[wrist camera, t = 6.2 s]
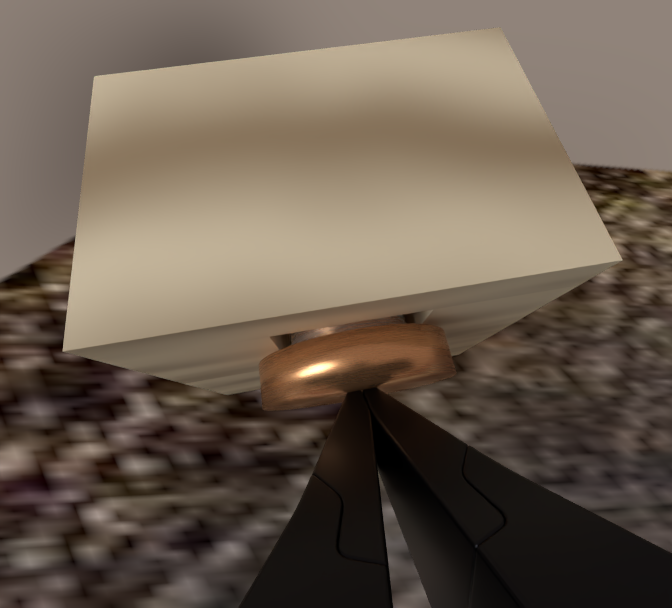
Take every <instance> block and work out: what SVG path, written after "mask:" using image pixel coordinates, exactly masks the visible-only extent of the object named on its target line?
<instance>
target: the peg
mask: <svg viewBox="0 0 672 608" xmlns="http://www.w3.org/2000/svg"><path fill="white" fill-rule="evenodd" d="M290 341H291V345H290V346H287V347H285V348H282V349H280V350H278V351H275V352H273V353H271V354H269V355H268V356H266V357H265V358H263V359H262V360H261V361H260V363H259V374H260V385H261V396H262V407H263V410H267V411H276V410H289V409H299V408H307V407H314V406H321V405H328V404H334V403H340V402H343V401H344V399H345V396H346V394H347V393H348V392H353V391H358V390H361V391H363V390H364V389H370V388H378V389H380V390H381V391H383V392H385V393H386V394H388V393H393V392H398V391H402V390H407V389H411V388H415V387H420V386H424V385H427V384H431V383H435V382H438V381H442V380H445V379H448V378H450V377H453V376H455V375H456V374H457V373H456V369H455V366H454V363H453V359H452V356H451V352H450V349H449V345H448V342H447V339H446V335H445V332H444V330H443V329H442V328H441V327H438V326H435V325H429V324H414V323H413V324H406V322H405V318H404V314H403V315H397V316H391V317H385V318H379V319H373V320H367V321H361V322H355V323H349V324H343V325H337V326H331V327H325V328H319V329H313V330H307V331H301V332H295V333H290Z"/></svg>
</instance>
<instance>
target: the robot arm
mask: <svg viewBox="0 0 672 608" xmlns="http://www.w3.org/2000/svg"><path fill="white" fill-rule="evenodd" d="M378 471H379V474H380V476H381V479H382V481H383V484H384V487H385V489H386V492H387V494H388V497H389V499H390V502H391V505H392V507H393V510H394V512H395V515H396V517H397V520H398V523H399V525H400V528H401V530H402V533H403V535H404V538H405V541H406V543H407V546H408V548H409V551H410V553H411V556H412V559H413V561H414V564H415V566H416V569H417V572H418V574H419V577H420V579H421V582H422V584H423V587H424V590H425V592H426V595H427V597H428V600H429V602H430V605H431V608H672V553H670V552H668V551H666V550H664V549H662V548H660V547H658V546H656V545H654V544H652V543H651V542H649V541H647V540H645V539H643V538H641V537H639V536H637V535H635V534H633V533H631V532H629V531H627V530H625V529H623V528H621V527H619V526H617V525H616V524H614V523H612V522H610V521H608V520H606V519H604V518H602V517H600V516H598V515H596V514H594V513H592V512H590V511H588V510H586V509H584V508H583V507H581V506H579V505H577V504H575V503H573V502H571V501H569V500H567V499H565V498H563V497H561V496H559V495H557V494H555V493H553V492H551V491H550V490H548V489H546V488H544V487H542V486H540V485H538V484H536V483H534V482H532V481H530V480H528V479H526V478H525V477H523V476H521V475H519V474H517V473H515V472H513V471H512V470H510V469H508V468H506V467H504V466H503V465H501V464H499V463H498V462H496V461H494V460H493V459H491V458H489V457H487V456H486V455H484V454H482V453H481V452H479V451H478V450H476V449H475V448H473V447H471V446H468V445H467V444H466V443H464V442H462V441H461V440H459V439H458V438H456V437H455V436H453V435H451V434H450V433H448V432H447V431H445V430H443V429H442V428H440V427H439V426H437V425H435V424H434V423H432V422H431V421H429V420H428V419H426V418H424V417H423V416H421V415H420V414H418V413H416V412H415V411H413V410H412V409H410V408H408V407H407V406H405V405H404V404H402V403H401V402H399V401H397V400H396V399H394V398H393V397H391V396H389V395H388V394H386V393H385V392H383V391H381V390H380V389H378V388H370V389H364V390H363V391H361V390H358V391H353V392H348V393H347V394H346V396H345V399H344V401H343V403H342V406H341V408H340V410H339V413H338V415H337V417H336V420H335V422H334V424H333V427H332V429H331V431H330V434H329V436H328V438H327V441H326V443H325V445H324V448H323V450H322V453H321V455H320V457H319V460H318V462H317V464H316V467H315V469H314V471H313V474H312V476H311V477H310V480H309V482H308V484H307V487H306V489H305V491H304V493H303V495H302V498H301V500H300V502H299V504H298V506H297V508H296V510H295V512H294V514H293V515H292V517H291V519H290V521H289V523H288V524H287V526H286V528H285V530H284V532H283V533H282V535H281V537H280V538H279V540H278V542H277V543H276V545H275V547H274V549H273V550H272V552H271V554H270V555H269V557H268V559H267V560H266V562H265V564H264V565H263V567H262V569H261V571H260V572H259V574H258V576H257V577H256V579H255V581H254V582H253V584H252V586H251V587H250V589H249V591H248V593H247V594H246V596H245V598H244V599H243V601H242V603H241V604H240V606H239V608H393V602H392V593H391V584H390V575H389V566H388V557H387V548H386V539H385V531H384V522H383V513H382V504H381V495H380V486H379V477H378Z"/></svg>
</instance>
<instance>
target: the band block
mask: <svg viewBox="0 0 672 608" xmlns="http://www.w3.org/2000/svg"><path fill="white" fill-rule="evenodd" d="M620 261H622V258H621V256H620V254H619V252H618V250H617V248H616V246H615V245H614V243H613V241H612V239H611V237H610V235H609V233H608V231H607V229H606V227H605V225H604V224H603V222H602V220H601V218H600V216H599V214H598V212H597V210H596V208H595V206H594V205H593V203H592V201H591V199H590V197H589V195H588V193H587V191H586V189H585V187H584V186H583V184H582V182H581V180H580V178H579V176H578V174H577V172H576V170H575V168H574V166H573V165H572V163H571V161H570V159H569V157H568V155H567V153H566V151H565V149H564V148H563V146H562V144H561V142H560V140H559V138H558V136H557V134H556V132H555V130H554V128H553V127H552V125H551V123H550V121H549V119H548V117H547V115H546V113H545V111H544V109H543V107H542V106H541V104H540V102H539V100H538V98H537V96H536V94H535V92H534V90H533V88H532V87H531V85H530V83H529V81H528V79H527V77H526V75H525V73H524V71H523V70H522V67H521V66H520V64H519V62H518V60H517V58H516V56H515V54H514V52H513V50H512V49H511V47H510V45H509V43H508V41H507V39H506V37H505V35H504V33H503V31H502V29H501V28H500V27H499V28H491V29H484V30H475V31H467V32H458V33H450V34H441V35H434V36H425V37H416V38H408V39H400V40H392V41H384V42H375V43H367V44H359V45H351V46H342V47H333V48H326V49H317V50H309V51H300V52H292V53H284V54H276V55H267V56H259V57H251V58H243V59H234V60H226V61H218V62H209V63H201V64H192V65H185V66H176V67H168V68H159V69H151V70H143V71H134V72H127V73H118V74H110V75H101V76H95V77H94V83H93V91H92V100H91V109H90V118H89V127H88V135H87V144H86V153H85V161H84V170H83V178H82V187H81V196H80V205H79V214H78V222H77V231H76V239H75V248H74V257H73V265H72V274H71V283H70V291H69V300H68V309H67V318H66V326H65V335H64V344H63V352H67V353H71V354H74V355H78V356H82V357H86V358H89V359H93V360H97V361H101V362H105V363H108V364H112V365H116V366H120V367H123V368H127V369H131V370H135V371H138V372H142V373H146V374H150V375H154V376H157V377H161V378H165V379H169V380H172V381H176V382H180V383H184V384H187V385H191V386H195V387H199V388H203V389H206V390H210V391H214V392H218V393H221V394H225V395H230V394H236V393H241V392H247V391H253V390H259V389H261V385H260V374H259V363H260V361H261V360H262V359H263V358H265V357H266V356H268V355H269V354H271V353H273V352H275V351H278V350H280V349H282V348H285V347H287V346H290V345H291V341H290V333H295V332H301V331H307V330H313V329H319V328H325V327H331V326H337V325H343V324H349V323H355V322H361V321H367V320H373V319H379V318H385V317H391V316H397V315H403V314H404V318H405V322H406V324H413V323H414V324H429V325H435V326H438V327H441V328H442V329H443V330H444V332H445V335H446V339H447V342H448V345H449V349H450V352H451V356H454V355H459V354H461V353H463V352H464V351H466V350H468V349H469V348H471V347H473V346H475V345H476V344H478V343H480V342H482V341H483V340H485V339H487V338H489V337H490V336H492V335H494V334H495V333H497V332H499V331H501V330H502V329H504V328H506V327H508V326H509V325H511V324H513V323H515V322H516V321H518V320H520V319H522V318H523V317H525V316H527V315H528V314H530V313H532V312H534V311H535V310H537V309H539V308H541V307H542V306H544V305H546V304H548V303H549V302H551V301H553V300H554V299H556V298H558V297H560V296H561V295H563V294H565V293H567V292H568V291H570V290H572V289H574V288H575V287H577V286H579V285H580V284H582V283H584V282H586V281H587V280H589V279H591V278H593V277H594V276H596V275H598V274H600V273H601V272H603V271H605V270H607V269H608V268H610V267H612V266H613V265H615V264H617V263H619V262H620Z"/></svg>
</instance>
